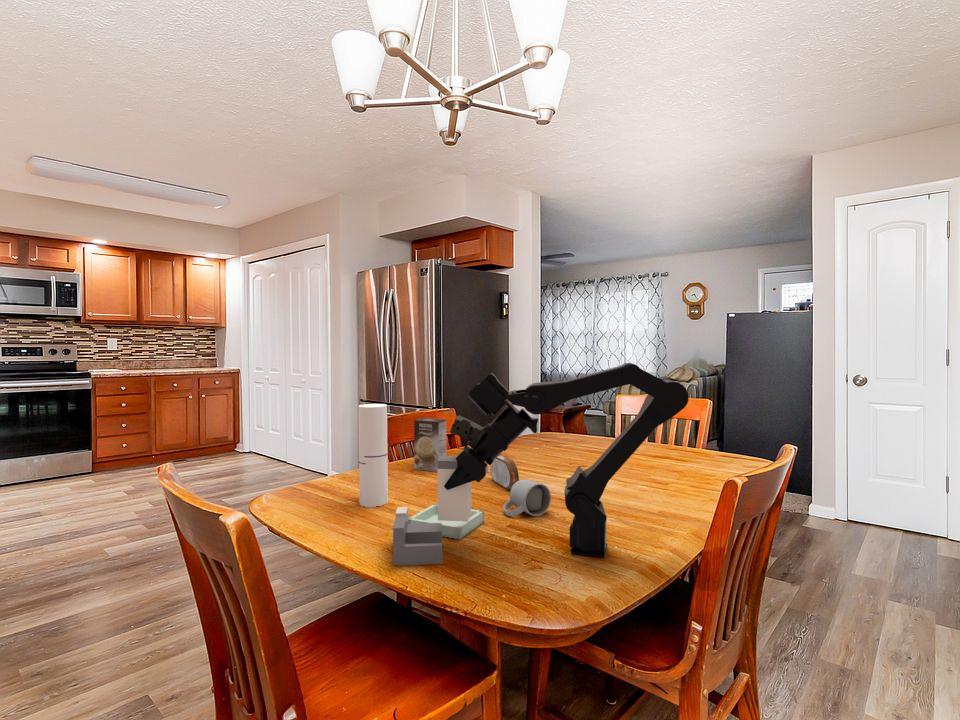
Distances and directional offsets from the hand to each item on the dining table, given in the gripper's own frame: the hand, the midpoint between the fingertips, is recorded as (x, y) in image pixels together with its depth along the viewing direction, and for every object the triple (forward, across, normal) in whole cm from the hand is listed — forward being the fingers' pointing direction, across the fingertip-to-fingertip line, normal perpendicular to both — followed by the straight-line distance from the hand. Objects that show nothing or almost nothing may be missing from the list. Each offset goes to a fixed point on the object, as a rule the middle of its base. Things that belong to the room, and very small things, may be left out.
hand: (448, 484), depth 108 cm
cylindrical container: (+26, -24, -8) cm, 36 cm away
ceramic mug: (-2, -22, +19) cm, 29 cm away
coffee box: (+21, -62, -4) cm, 65 cm away
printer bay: (+12, +5, +5) cm, 14 cm away
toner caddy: (+4, 0, +6) cm, 7 cm away
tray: (+10, -10, +7) cm, 16 cm away
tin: (+3, -45, +14) cm, 47 cm away
